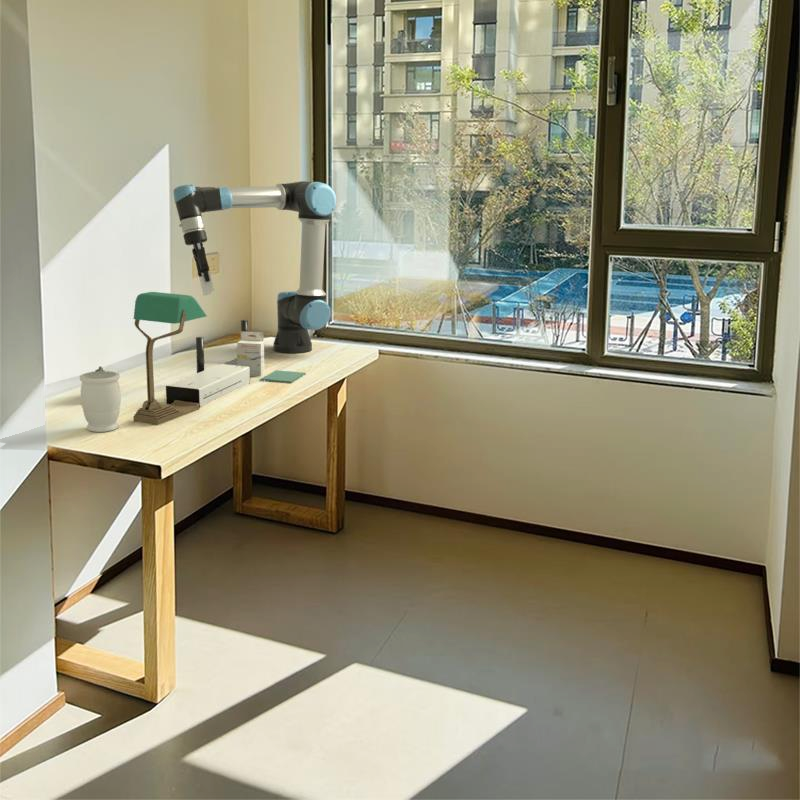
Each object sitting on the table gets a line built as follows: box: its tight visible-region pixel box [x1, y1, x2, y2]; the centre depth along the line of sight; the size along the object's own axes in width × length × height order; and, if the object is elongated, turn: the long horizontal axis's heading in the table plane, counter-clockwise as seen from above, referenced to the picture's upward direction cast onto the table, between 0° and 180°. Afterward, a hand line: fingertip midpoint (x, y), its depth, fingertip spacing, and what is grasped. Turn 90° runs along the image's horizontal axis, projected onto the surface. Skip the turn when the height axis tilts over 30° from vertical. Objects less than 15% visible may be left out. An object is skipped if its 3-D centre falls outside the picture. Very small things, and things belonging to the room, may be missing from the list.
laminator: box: [165, 363, 251, 408], centre depth 293 cm, size 34×12×6 cm, turn 163°
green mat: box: [260, 369, 306, 384], centre depth 318 cm, size 14×11×1 cm
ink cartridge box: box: [236, 331, 265, 377], centre depth 319 cm, size 9×5×15 cm, turn 84°
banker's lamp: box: [132, 291, 208, 426], centre depth 265 cm, size 16×21×35 cm
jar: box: [79, 370, 122, 433], centre depth 252 cm, size 11×10×15 cm
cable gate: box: [195, 319, 249, 374], centre depth 321 cm, size 38×6×16 cm, turn 166°
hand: (208, 293), depth 316 cm, fingers open, 13 cm apart
